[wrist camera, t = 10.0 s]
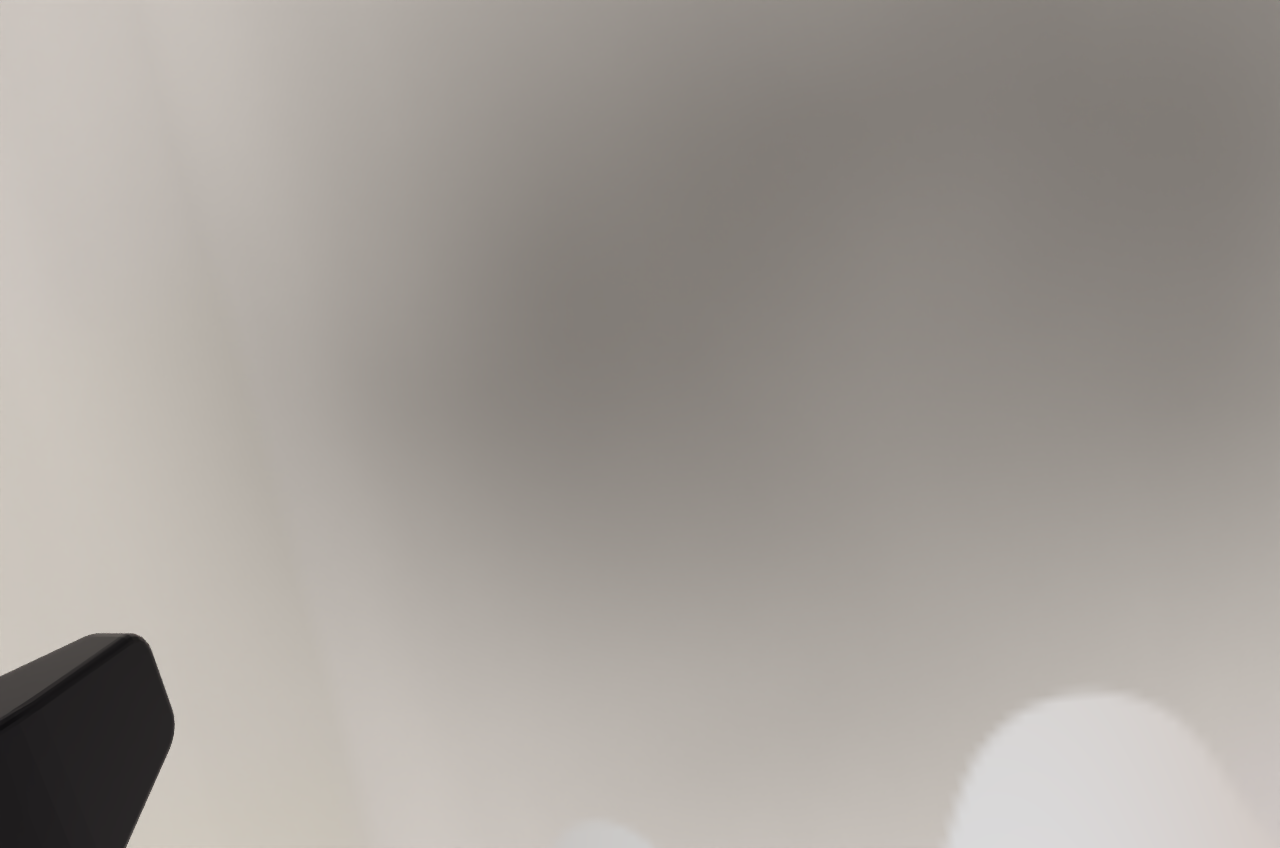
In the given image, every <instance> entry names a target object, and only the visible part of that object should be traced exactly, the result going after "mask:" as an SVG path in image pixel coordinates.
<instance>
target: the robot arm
mask: <svg viewBox="0 0 1280 848" xmlns="http://www.w3.org/2000/svg"><path fill="white" fill-rule="evenodd" d="M174 726H175V723H174V714H173V710H172V707H171V704H170V702H169V699H168V696H167V693H166V690H165V687H164V684H163V682H162V679H161V676H160V673H159V670H158V667H157V664H156V662H155V659H154V656H153V653H152V650H151V648H150V646H149V644H148V643H147V642H146V641H145V640H144V639H143V638H142V637H140V636H138V635H136V634H133V633H96V634H91V635H88V636H85V637H83V638H81V639H79V640H77V641H74V642H72V643H70V644H68V645H66V646H64V647H62V648H60V649H57V650H55V651H53V652H51V653H49V654H47V655H45V656H43V657H40V658H38V659H36V660H34V661H32V662H30V663H28V664H26V665H23V666H21V667H19V668H17V669H15V670H13V671H11V672H9V673H6V674H4V675H2V676H0V848H126V846H127V844H128V842H129V839H130V837H131V835H132V833H133V830H134V828H135V826H136V824H137V821H138V819H139V817H140V815H141V812H142V810H143V808H144V806H145V803H146V801H147V799H148V796H149V794H150V792H151V790H152V787H153V785H154V783H155V781H156V778H157V776H158V774H159V772H160V769H161V767H162V765H163V763H164V760H165V758H166V756H167V754H168V751H169V749H170V747H171V744H172V740H173V736H174Z"/></svg>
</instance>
